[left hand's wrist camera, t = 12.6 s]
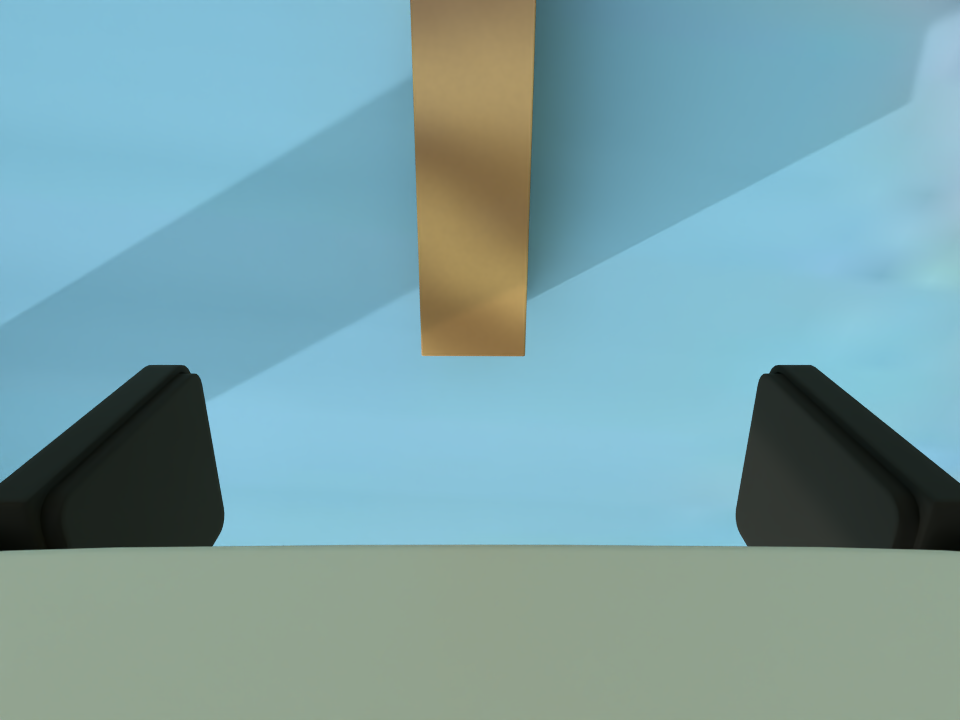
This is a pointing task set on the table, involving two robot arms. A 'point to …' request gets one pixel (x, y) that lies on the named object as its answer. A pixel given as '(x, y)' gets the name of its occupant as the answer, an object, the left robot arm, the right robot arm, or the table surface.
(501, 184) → the bar
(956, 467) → the table surface
